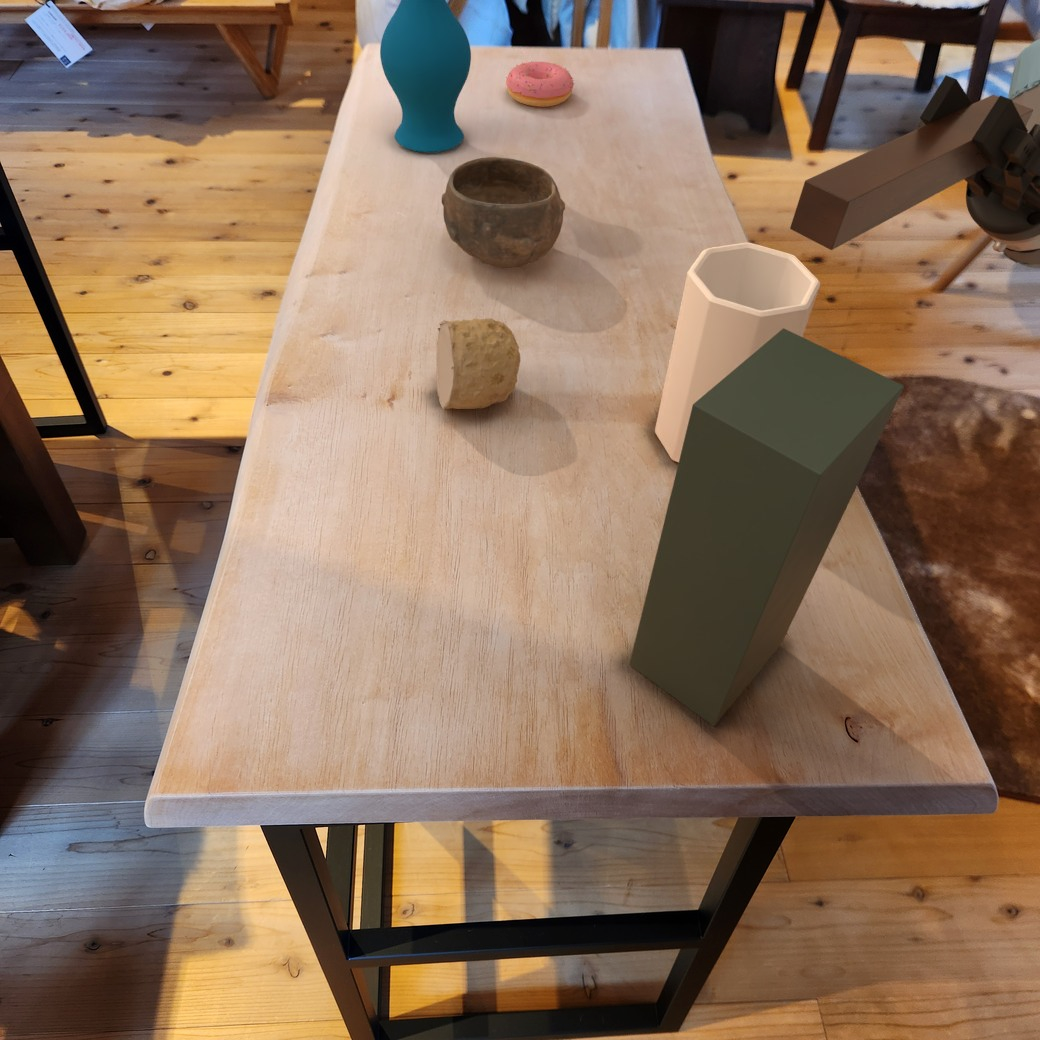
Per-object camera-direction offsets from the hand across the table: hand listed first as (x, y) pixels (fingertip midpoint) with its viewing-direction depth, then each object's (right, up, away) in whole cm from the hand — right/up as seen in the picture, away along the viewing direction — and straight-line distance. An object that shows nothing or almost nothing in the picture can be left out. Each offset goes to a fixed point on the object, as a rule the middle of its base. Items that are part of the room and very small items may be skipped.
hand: (964, 109), depth 53 cm
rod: (-3, -4, +2) cm, 5 cm away
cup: (-9, -18, +32) cm, 38 cm away
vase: (-42, +31, +74) cm, 90 cm away
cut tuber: (-33, -13, +35) cm, 49 cm away
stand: (-13, -37, +15) cm, 42 cm away
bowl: (-31, +7, +53) cm, 62 cm away
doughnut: (-25, +43, +86) cm, 99 cm away
